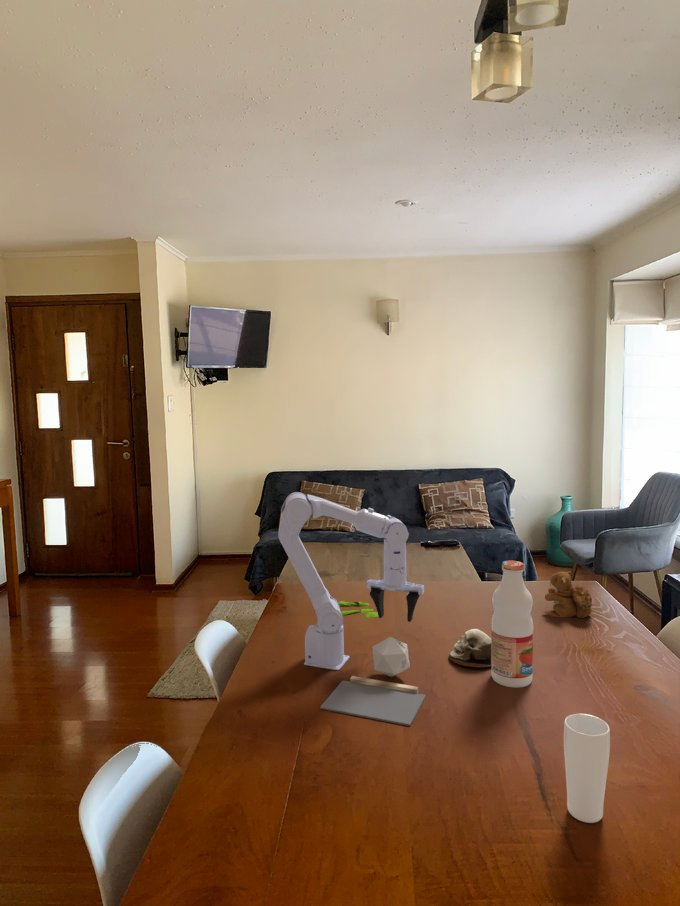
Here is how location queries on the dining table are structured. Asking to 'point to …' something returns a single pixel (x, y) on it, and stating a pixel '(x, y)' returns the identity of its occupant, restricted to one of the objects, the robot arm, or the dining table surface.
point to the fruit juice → (512, 629)
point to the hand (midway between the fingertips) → (395, 618)
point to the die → (390, 656)
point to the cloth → (367, 615)
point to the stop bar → (384, 684)
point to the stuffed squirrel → (568, 597)
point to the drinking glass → (586, 765)
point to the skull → (472, 649)
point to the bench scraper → (374, 702)
